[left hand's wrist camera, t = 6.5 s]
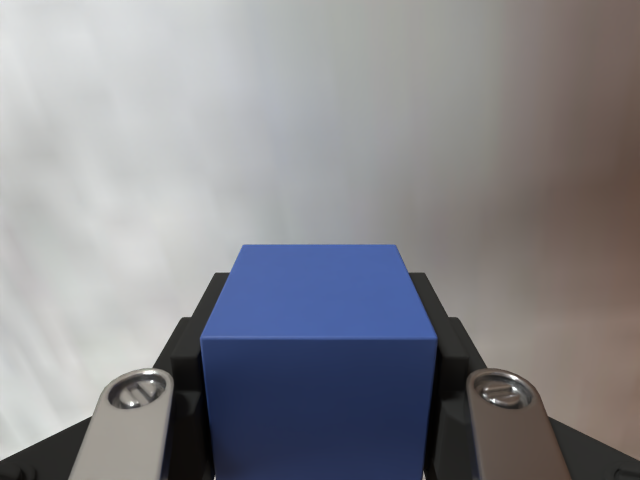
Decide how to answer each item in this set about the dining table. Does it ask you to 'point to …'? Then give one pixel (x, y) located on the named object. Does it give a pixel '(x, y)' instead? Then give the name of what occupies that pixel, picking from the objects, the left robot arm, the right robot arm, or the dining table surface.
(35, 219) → the dining table surface
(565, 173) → the dining table surface
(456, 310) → the dining table surface
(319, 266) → the brick
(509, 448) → the left robot arm
